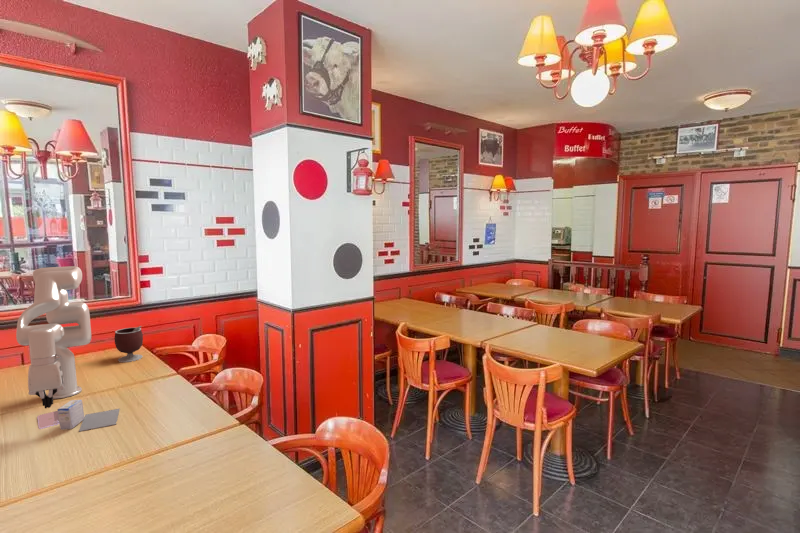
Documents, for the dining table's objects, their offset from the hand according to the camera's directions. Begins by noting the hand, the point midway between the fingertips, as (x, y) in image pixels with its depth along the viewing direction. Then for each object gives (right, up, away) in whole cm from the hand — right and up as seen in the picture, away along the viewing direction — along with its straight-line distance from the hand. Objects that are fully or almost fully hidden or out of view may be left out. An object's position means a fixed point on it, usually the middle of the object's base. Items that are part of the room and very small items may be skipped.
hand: (48, 406), depth 166 cm
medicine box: (+6, -9, +5) cm, 12 cm away
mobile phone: (-7, -9, +9) cm, 15 cm away
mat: (+14, -8, +9) cm, 19 cm away
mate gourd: (-21, 0, +85) cm, 87 cm away
